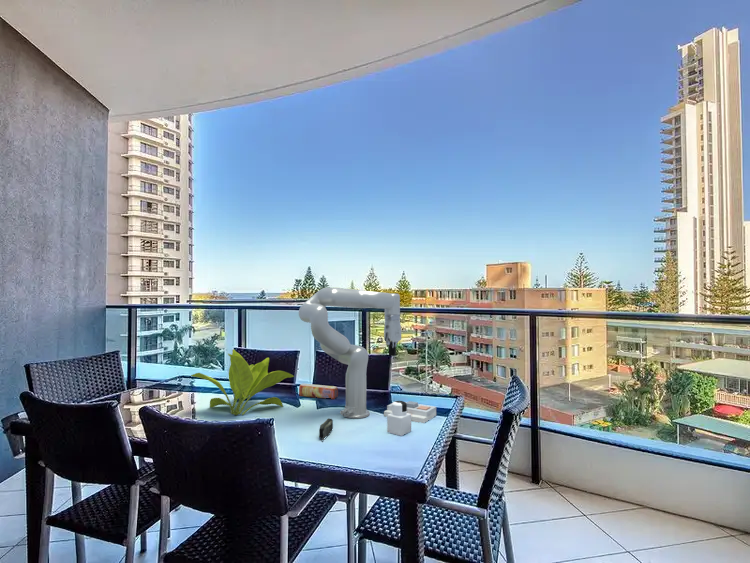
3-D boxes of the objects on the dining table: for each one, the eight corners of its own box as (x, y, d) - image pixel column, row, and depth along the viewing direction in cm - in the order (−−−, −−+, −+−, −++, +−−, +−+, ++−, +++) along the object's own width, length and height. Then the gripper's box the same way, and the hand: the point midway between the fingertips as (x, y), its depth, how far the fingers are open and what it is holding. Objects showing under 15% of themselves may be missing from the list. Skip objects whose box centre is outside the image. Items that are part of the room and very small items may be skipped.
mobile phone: (326, 417, 168) (317, 428, 153) (333, 417, 167) (324, 428, 152) (326, 429, 167) (316, 441, 152) (333, 429, 167) (324, 442, 152)
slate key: (413, 409, 183) (413, 404, 183) (405, 407, 185) (405, 403, 185) (418, 406, 187) (418, 402, 187) (409, 405, 189) (409, 401, 189)
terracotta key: (425, 414, 180) (425, 409, 180) (417, 412, 182) (416, 408, 182) (430, 411, 183) (430, 407, 183) (421, 410, 186) (421, 405, 186)
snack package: (338, 397, 218) (338, 384, 218) (333, 400, 212) (333, 387, 212) (303, 394, 225) (303, 382, 225) (297, 397, 219) (297, 384, 219)
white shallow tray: (424, 423, 174) (424, 413, 174) (383, 415, 184) (383, 407, 184) (436, 415, 185) (436, 406, 185) (397, 409, 195) (397, 400, 195)
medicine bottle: (397, 427, 168) (397, 398, 168) (411, 431, 164) (411, 401, 164) (386, 432, 163) (386, 402, 163) (401, 436, 158) (401, 405, 158)
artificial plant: (297, 427, 188) (310, 367, 206) (231, 391, 159) (253, 325, 177) (231, 431, 207) (248, 375, 224) (161, 399, 177) (188, 339, 195)
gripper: (391, 319, 192) (391, 358, 191) (405, 317, 205) (406, 354, 204) (377, 318, 196) (377, 357, 195) (393, 317, 209) (393, 353, 208)
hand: (392, 355), depth 200 cm, fingers closed
